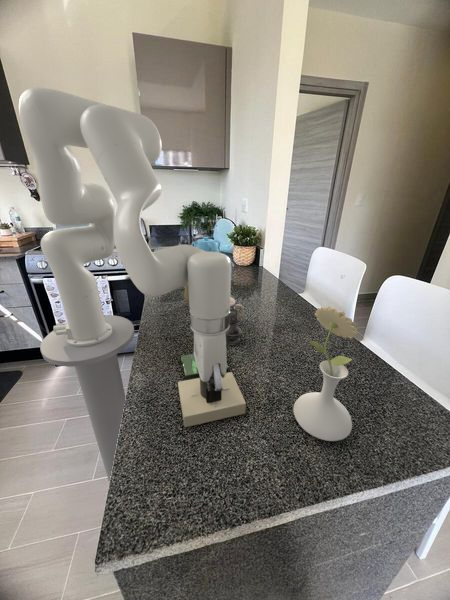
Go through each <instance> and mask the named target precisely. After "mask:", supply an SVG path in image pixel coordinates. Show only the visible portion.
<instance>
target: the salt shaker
mask: <svg viewBox="0 0 450 600" xmlns="http://www.w3.org/2000/svg"><path fill="white" fill-rule="evenodd" d="M238 314H239V312H238V309H236V307H235V308H234V306H233V307H232V308H231V309H230V327H229V329H228V330H227V331H226V332H225V335H226V345H228V346H237V345H239V344H240V343H241V338H240V336H241V335H242V333H243V329H241V327H239V326H238V324H239V323H238V322H240V321H239V317H238ZM237 317H238V318H237Z"/></svg>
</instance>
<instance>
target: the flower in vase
mask: <svg viewBox="0 0 450 600" xmlns="http://www.w3.org/2000/svg"><path fill="white" fill-rule="evenodd" d="M314 316H315V317H316V320H317V321H318V322H319V325H320V326H322V327H323V328H324V329H325V330H327V331H328V334H327V336H326V339H325V341H324V346H322V345H321V344H320V343H318V341H316V340H310V341H309V342H308V344H309V345H311V346H312V347H314V348H315V349H316V350H317V351H318V352H320V353H325V357H326V360H323V361H321V362H320V363H319V370H320V371H321V373H322V377H323V380H322V381H323V383H322V387H321V391H320V392H317V391H312V392H306V393H304V394H302V395H300V396H298V398H297V399H296V400H295V402H294V404H293V415H294V418H295V420H296V421H297V423H298V425H299V426H300V427H301V428H302V430H304V431H305V432H306V433H307V434H309V435H310V436H312V437H314V438H316V439H318V440H321V441H326V442H338V441H342V440H344V439H346V438H347V437H349V435H350V434H351V433H352V430H353V421H352V418H351V414H350V412H349V411H348V409H347V408H346V407H345V406H344V405H343V403H341V402H340V401H339V399H337V398H335V397H334V395H335V391H336V388H337V386H338V384H339V383H340V382H341V380H343V379H346V378H347V377H348V375H349V370H348V368H347V367H346V366H345V365H347V364H349V363H350V362H351V361H352V360H353V358H350V357H347V356H345V355H337V356H335V357H333V358H332V359H330V357H329V355H328V351H327V344H328V341H329V339H330V336H331V334H333V335H336V336H337V337H339V338H340V337H342V338H343V339H346V338H348V339H349V340H350V339H354V337H356V336H357V335H358V334H359V333H358V331H359V329H357V328H356V327H355V326H357V323H356V322H355V321H353V319H352V318H350V317H346V312H345V311H342V310H340V311H338V310H337V309H336V308H332V306H329V305H327V306H326V308H325V307H323V306H320V307H318V308H317V310H315V312H314Z"/></svg>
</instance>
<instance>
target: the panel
mask: <svg viewBox="0 0 450 600" xmlns="http://www.w3.org/2000/svg"><path fill="white" fill-rule="evenodd" d="M221 381H222V388H223V390H222V396H221V400H220V401H216V402H211V403H207V402H206V399H205V398H203V397H202V396H201V394H200V378H196V379H191V380H185V379H184V380H180V381H177V387H178V395H179V401H180V408H181V414H182V420H183V427H184V428H188V427H193V426H197V425H201V424H205V423H206V424H207V423H209V422H215V421H217V420H223V419H228V418H231V417H235V416H240V415H245V414H246V408H247V407H246V405H247V403H246V400H245V398H244V396H243V394H242V392H241V389H240V387H239V385H238V383H237V381H236V378H235V376H234V373H233V372H232V371H230V372H229V371H228V373H226V376H225V377H224V378H223V377H222V376H221Z"/></svg>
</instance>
